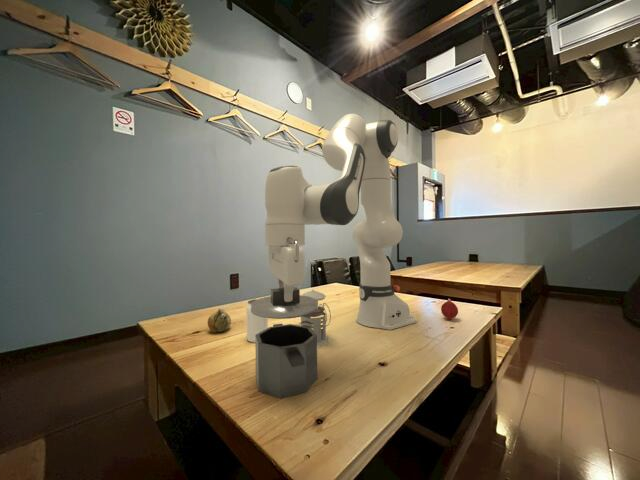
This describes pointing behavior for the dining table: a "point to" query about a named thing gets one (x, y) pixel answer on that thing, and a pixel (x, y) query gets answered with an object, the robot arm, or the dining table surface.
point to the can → (254, 323)
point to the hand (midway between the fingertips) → (285, 298)
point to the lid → (284, 305)
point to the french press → (316, 322)
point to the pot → (286, 360)
